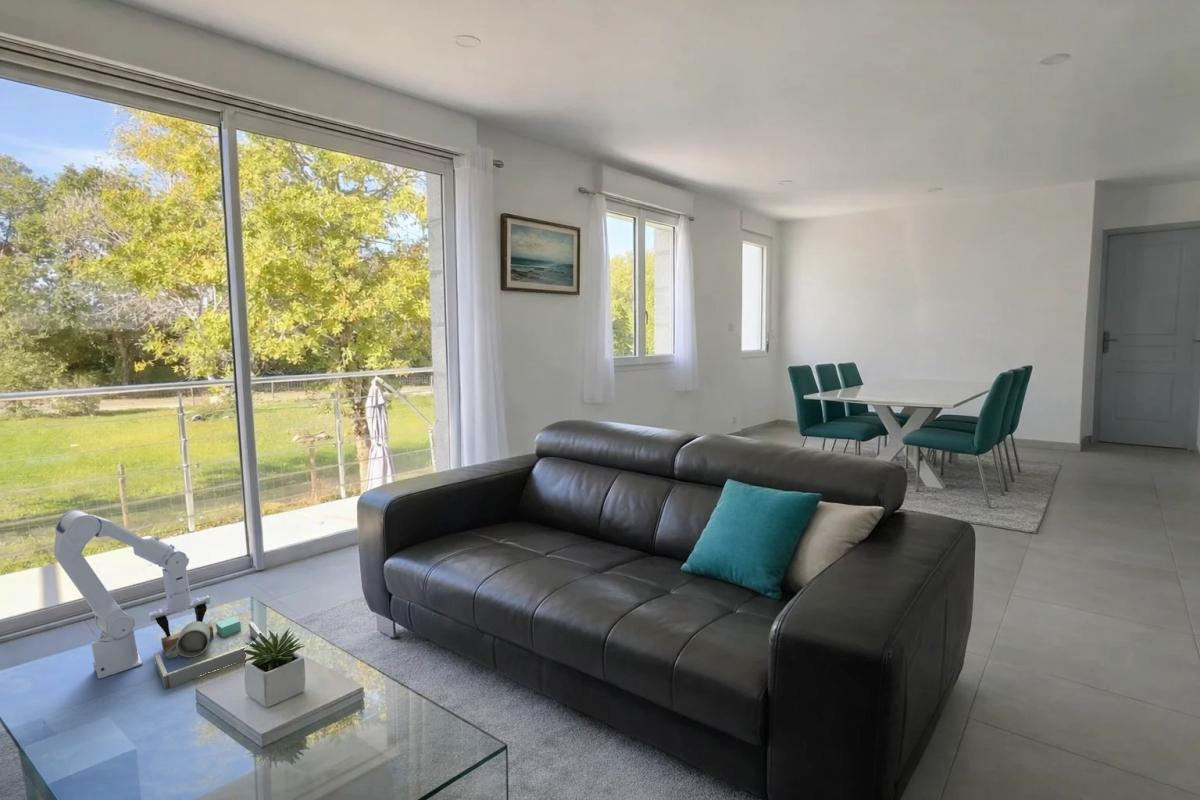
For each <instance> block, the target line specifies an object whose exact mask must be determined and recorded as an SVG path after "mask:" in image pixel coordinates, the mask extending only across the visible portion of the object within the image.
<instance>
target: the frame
mask: <svg viewBox="0 0 1200 800" xmlns="http://www.w3.org/2000/svg"><path fill="white" fill-rule="evenodd" d="M248 627H249V632H250V635H251V637H252V636H253V637H252V639H254V638H257V636H258V634H259V633H262V634H263V632H262V631H261V629H259V627H258V626H257V625H256V623H254V621H250V622H248ZM250 644H251V643H250ZM250 644H247V645H244V646H242V647H238V648H236V649H233V650H230V651H227V652H224V653H221V654H219V655H216V656H212V657H210V658H208V659H204V660H202V661H199V662H196V663H193V664H190V665H187V666H185V667H181V668H179V669H175V670H173V671H170V672H168V671H167V669H166V667H165V664H164V662H163V660H162V658H161V656H160V654H159V652H157V653H154V654H153V657H154V662H155V667H156V670H157V673H158V675H159V677H160V680H161V682H162V684H163V686H164V689H165V690H169V689H171V688H174V687H176V686H179V685H182V684H185V683H187V682H186V681H188V680H190V681H192V680H191V679H193V678H196V677H198V676H200V675H203V674H205V673H208V672H212V671H214V670H217V669H220V668H223V667H225V666H228V665H231V664H234V663H237V664H239V663H242V662H245V661H246V660H245V658H246V654H245V652H244V649H245V648H246V647H247V646H249V645H250ZM244 660H245V661H244ZM234 665H235V664H234ZM231 666H232V665H231ZM223 669H224V668H223ZM220 670H221V669H220ZM212 673H213V672H212ZM198 678H199V677H198ZM196 679H197V678H196ZM193 680H194V679H193ZM184 682H185V683H184ZM188 682H189V681H188Z"/></svg>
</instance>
